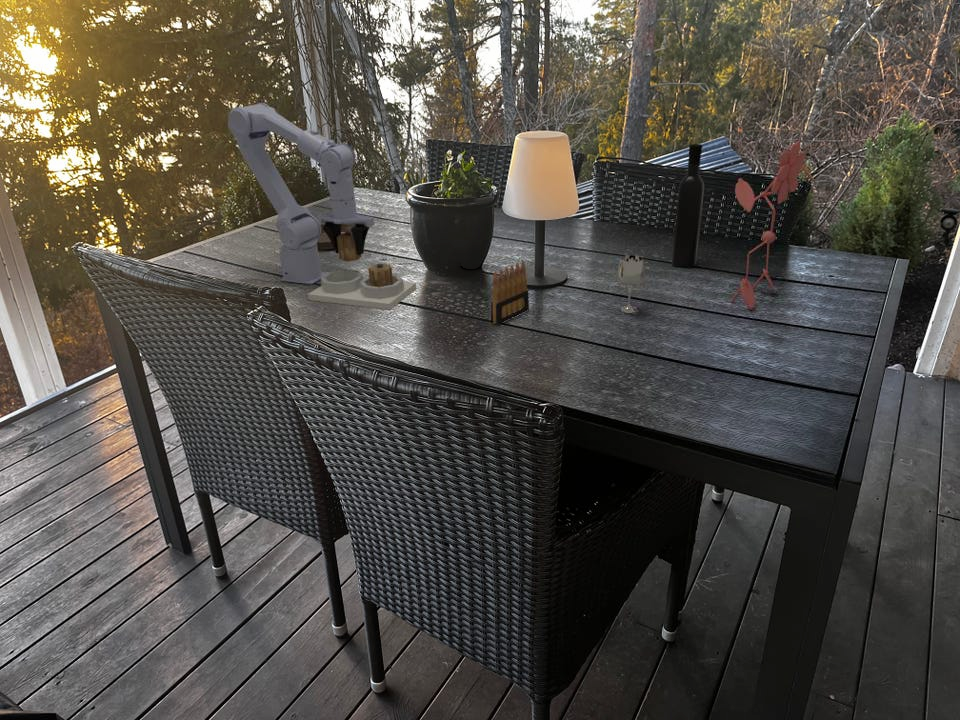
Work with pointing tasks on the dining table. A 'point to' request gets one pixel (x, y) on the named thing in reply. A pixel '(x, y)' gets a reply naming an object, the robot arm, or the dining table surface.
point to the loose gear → (347, 247)
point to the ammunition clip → (509, 294)
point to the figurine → (783, 183)
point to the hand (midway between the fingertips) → (349, 253)
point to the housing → (360, 290)
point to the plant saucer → (324, 239)
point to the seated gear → (380, 275)
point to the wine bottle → (689, 212)
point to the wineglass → (630, 276)
